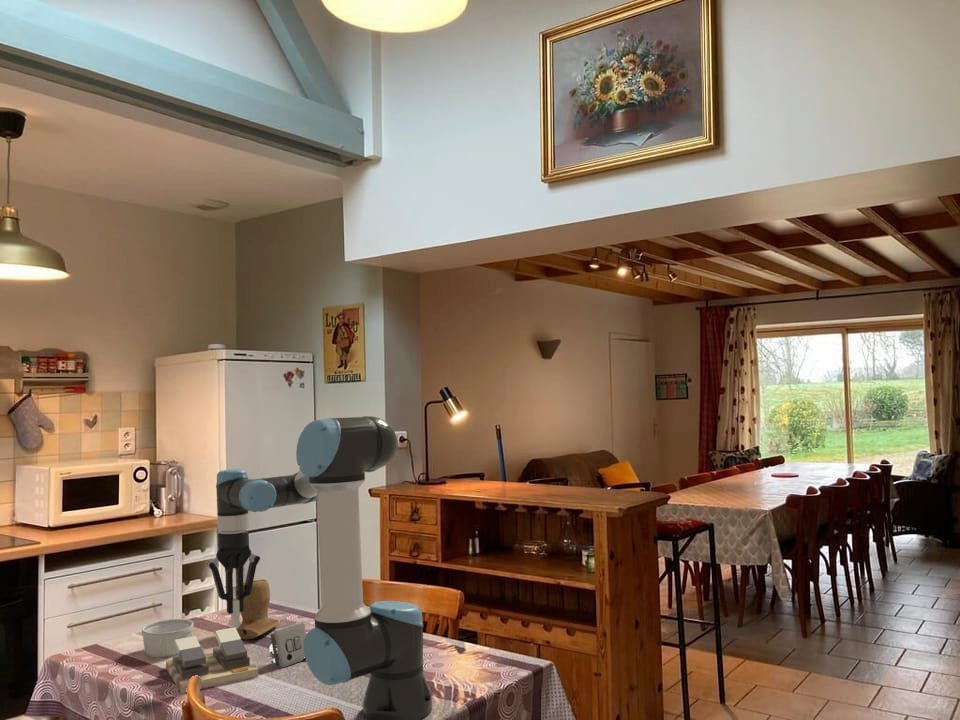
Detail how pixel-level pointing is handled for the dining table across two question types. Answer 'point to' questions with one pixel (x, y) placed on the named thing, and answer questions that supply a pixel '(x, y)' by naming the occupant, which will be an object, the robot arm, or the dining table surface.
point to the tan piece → (256, 611)
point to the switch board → (211, 670)
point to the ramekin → (165, 636)
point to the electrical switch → (289, 644)
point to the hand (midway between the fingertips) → (235, 625)
